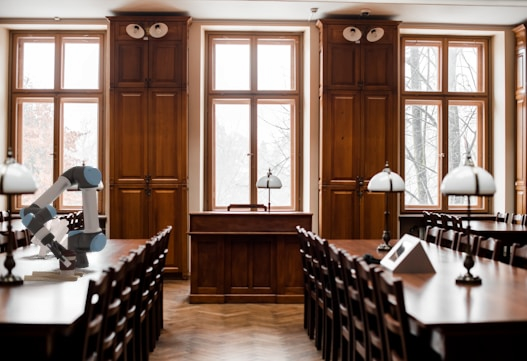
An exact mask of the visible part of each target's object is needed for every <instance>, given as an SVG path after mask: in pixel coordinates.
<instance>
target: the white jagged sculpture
mask: <svg viewBox="0 0 527 361" xmlns="http://www.w3.org/2000/svg"><path fill="white" fill-rule="evenodd" d="M69 224H70V223H69V221H68V220H67V219H66V218H63V219H60V218H54V219H53V218H52V219H51V223H50V222H49V221H48V222H47V223H45V224H44V226H45V227H46V228H47V229H48V230H49V231H50V233H52V234H53V235H54V236H55V238H54V239H53V240H54V241H57V242H58V243H60V244H61V245H62V246H63V247H64V248H66V249H67V243H68V231H69V230H70V229H69V227H68V225H69ZM30 242H31V243H32V244H33V245H38V246H39V247H40V248H39V251H38V255H37V258H41V259H45V257H46V255H47V254H49V253H52V252H51V250H50V249H49V248H48V247H47V245H46V246H44V245H43V244H42V243H41V240H38V239H36V238H35V236H34V235H33V237H32V238H31V240H30Z"/></svg>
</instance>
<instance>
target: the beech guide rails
mask: <svg viewBox="0 0 527 361" xmlns="http://www.w3.org/2000/svg"><path fill="white" fill-rule="evenodd" d="M59 275H60V270H59V271H55V270H54V271H51V270H49V271H48V270H47V271H45V270H44V271H40V270H39V271H38V270H35V271H32V273H31V274H29V275H28V274H25V275H24V276H23V277H24V278H23V281H59V282H60V281H61V282H62V281H63V282H65V281H67V282H68V281H69V282H70V281H71V282H72V281H73V282H75V281H79V280H78V279H79V278H78V276H81V277H84V271H74V276H59Z"/></svg>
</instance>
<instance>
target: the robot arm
mask: <svg viewBox="0 0 527 361" xmlns="http://www.w3.org/2000/svg"><path fill="white" fill-rule="evenodd" d="M102 177H103V176H102V172H101V171H100V169H98V167H96V166H93V165H92V166H91V165H74V166H71V168H68V169H66V170H65V171H64V172H63V173H62V174H60V175H59V176H58V178H57V180H56V181H55V182H54V183H53V184H52V185H50V187H49V188H48V189H47V190H45V191H44V192H43V193H42V194H40V196H39V197H38V198H36V200H35V201H33V202H32V203H31V204H30V205H29V206H26V207H25V206H24V207H22V208H21V209H20V210H19V217H20V218H21V223H22V224H23V226H24V227H25V229H27V230H28V231H29V232H30V233H31V234H32V235H33V237H34V236H35V238H36V239H38V240H41V243H42V244H43V245H44V246H46V245H47V247H48V248H49V249H50V250H51V252H50V253H52V254H53V255H54V257H55V258H56V261H57V260H58V261H59V258H60V260H61V261H62V262H63V263H64V264H65V265H66V267H68V266H70V265H71V263H70V262H69V261H68V260H67V259H66V258H65V257H64V256H62V254H61V253H60V252H61V250H74V252H76V253H77V256H76V258H75V259H76V263H75V269H79V268H80V269H81V268H82V269H83V268H88V267H89V266H90V264H89V263H90V262H89V259H88V256H87V252H92V253H99V252H101V251H103V250H104V249H105V247H106V245H107V236H106V235H105V234H104V233H103V230H102V228H101V227H100V222H99V221H100V220H99V210H98V198H97V189H98V188H99V184H101V182H102ZM75 185H78V189H79V190H80V191H81V195H82V209H83V221H84V229H82V230H81V229H80V230H70V231H69V232H67V234H68V243H67V249H66V248H64V247H63V246H62V245H61V244H60V243H58V242H57V241H54V240H53V239H54V238H55V236H54V235H53V234H52V233H50V231H49V230H48V229H47V228H46V227H45V226H44V224H45V223H47V222H49V221H52V219H53V218H54V217H56V216H57V210H56V208H55V207H54V206H53V205H51V204H53V202H54V201H55V200H57V199H58V198H59V197H60V196H61V195H62V194H63V193H65V191H66V190H67V189H71V187H73V186H75Z"/></svg>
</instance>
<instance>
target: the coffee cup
mask: <svg viewBox="0 0 527 361" xmlns="http://www.w3.org/2000/svg"><path fill="white" fill-rule="evenodd" d="M60 253H61V254H62V256H64V257H65V258H66V259H67V260H68V261H69V262H70V263H71V265H70V266H68V267H66V265H65V264H64V263H63V262H62V261H61V260H60V258H59V259H58V265H59V272H60V276H74V272H75V270H76V268H75V263H76V259H75V258H76V256H77V253H76V252H74V250H61V252H60Z"/></svg>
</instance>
